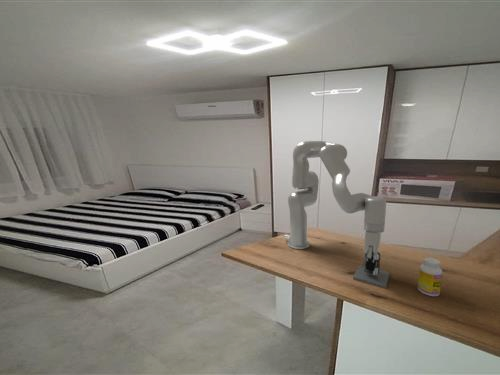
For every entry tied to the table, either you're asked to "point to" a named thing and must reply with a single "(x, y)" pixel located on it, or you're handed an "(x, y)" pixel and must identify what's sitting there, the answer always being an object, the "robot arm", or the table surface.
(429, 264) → the supplement bottle
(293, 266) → the table surface
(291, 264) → the table surface
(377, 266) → the pill bottle
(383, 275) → the plate
